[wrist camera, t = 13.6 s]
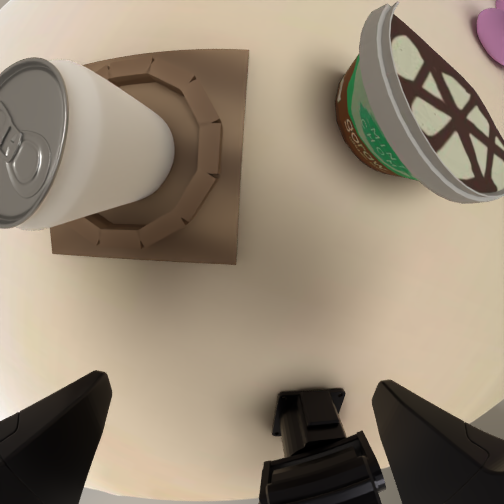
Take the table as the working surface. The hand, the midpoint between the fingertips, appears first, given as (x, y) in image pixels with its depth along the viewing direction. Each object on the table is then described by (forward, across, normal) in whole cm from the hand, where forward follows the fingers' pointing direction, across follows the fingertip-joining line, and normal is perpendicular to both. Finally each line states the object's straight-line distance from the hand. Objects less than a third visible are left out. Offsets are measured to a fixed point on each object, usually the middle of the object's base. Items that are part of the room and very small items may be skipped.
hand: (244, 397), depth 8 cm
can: (+12, +8, -8) cm, 17 cm away
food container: (+13, -9, -10) cm, 19 cm away
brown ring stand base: (+13, +8, -8) cm, 17 cm away
